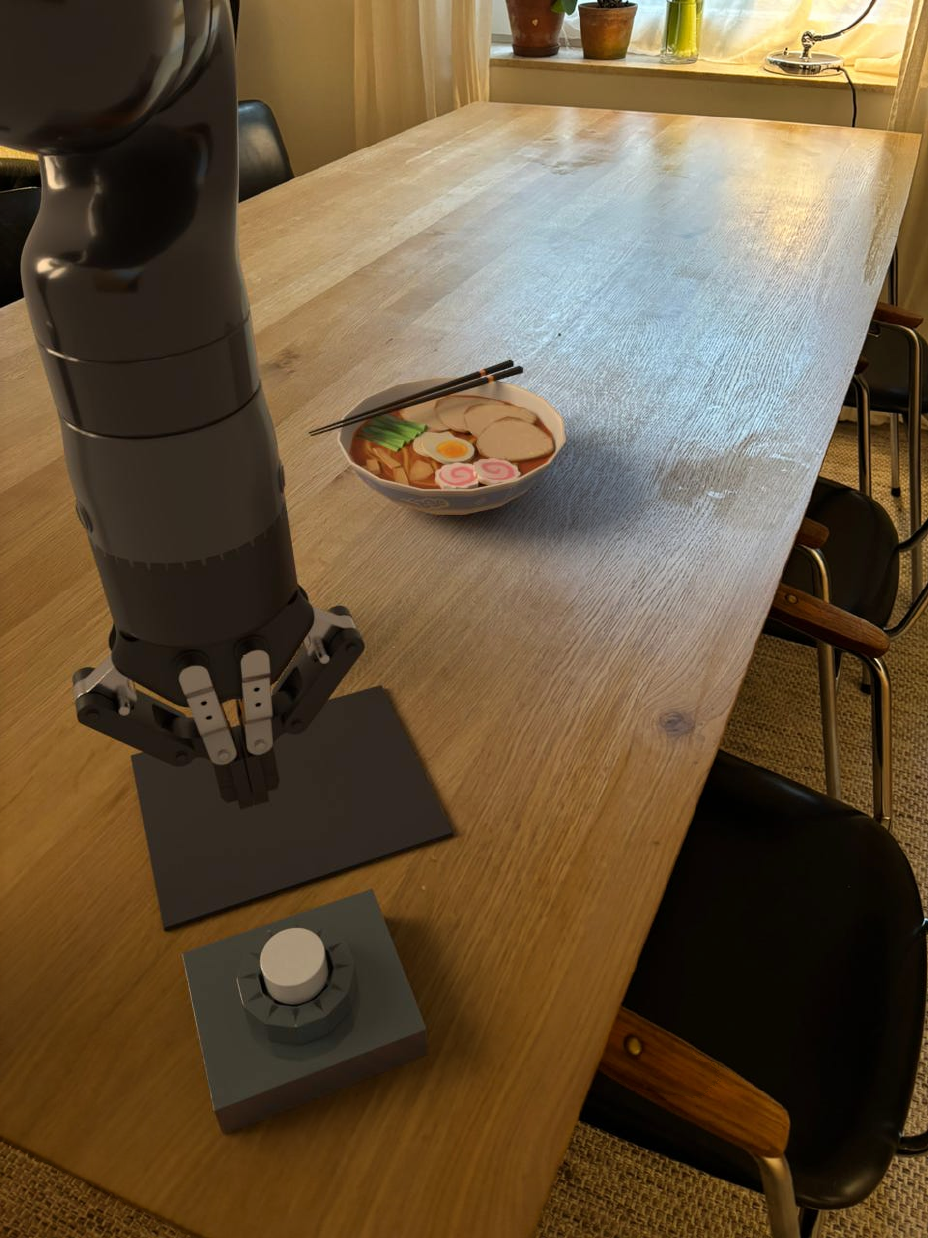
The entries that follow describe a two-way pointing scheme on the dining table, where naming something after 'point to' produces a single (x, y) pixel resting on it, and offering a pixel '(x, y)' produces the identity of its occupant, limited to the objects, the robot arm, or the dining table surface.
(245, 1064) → the push button box
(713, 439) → the dining table surface
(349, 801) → the mat
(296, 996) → the white push button
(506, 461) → the ramen bowl
